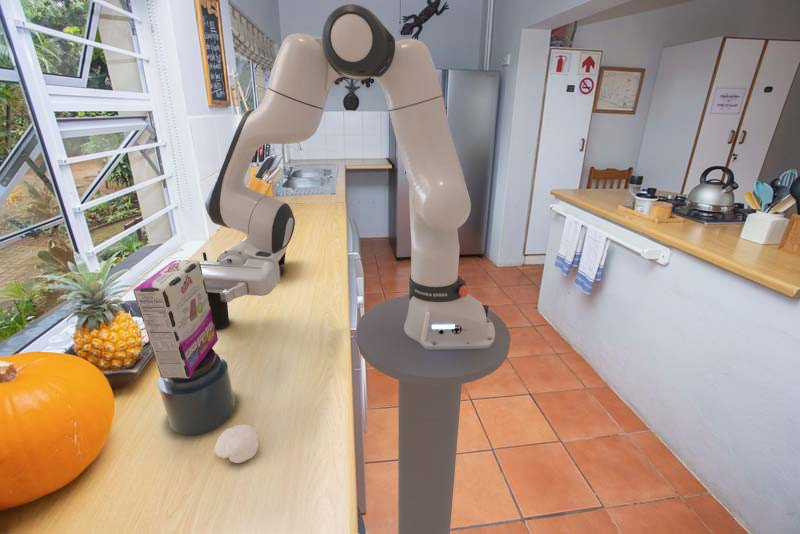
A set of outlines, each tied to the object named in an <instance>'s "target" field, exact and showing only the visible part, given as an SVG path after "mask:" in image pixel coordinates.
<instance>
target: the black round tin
mask: <svg viewBox="0 0 800 534" xmlns="http://www.w3.org/2000/svg"><path fill="white" fill-rule="evenodd" d="M286 251H287V250H286ZM286 251H285V253H284V254H283V256H282V257H281V259H280V260H279V261H278V264H279V270H280V277H281V276H282V275H283V272H284V270H283V266H285V265H286V254H287V253H286Z"/></svg>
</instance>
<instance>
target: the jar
mask: <svg viewBox="0 0 800 534" xmlns="http://www.w3.org/2000/svg"><path fill="white" fill-rule="evenodd" d="M157 386H158V387H157V388H158V390H159V394H160V397H161V400H162V403H163V406H164V410H165V413H166V415H167V416H166V417H167V419H168V420H167V421H168V423H169V427H170V429H171V430H172V431H173V432H174V433H175V434H177V435H180V436H187V437H192V436H199V435H203V434H207V433H209V432H211V431H213V430H214V431H215V430H216V429H217V428H219V427H220V426H222V425H224V423H226V422H227V421H228V420H229V419H230V418H231V416H232V415H233V414H234V412H235V410H236V399H235V393H234V390H233V385H232V381H231V375H230V371H229V366H228V362H227V361H226V359H225V358H223V357H221V356H220V354H218V353H216V351H215V349H214V348H212V349H211V350H210V351H209V353H208V354H207V356H206V357H205V358H204V360H203V361H202V362H201V364H200V365H199V366H198V368H197V369H196V370H195V372H194V373H193V374H192V376H191V377H190V378H171V379H167V378H161V375H159V378H158V380H157Z"/></svg>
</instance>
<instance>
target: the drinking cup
mask: <svg viewBox="0 0 800 534" xmlns="http://www.w3.org/2000/svg"><path fill="white" fill-rule="evenodd" d="M202 257H203V261H208V257H207V252H205V251H204V252H202ZM207 295H208V300H209V304H210V308H211V312H212V316H213V321H214V324H215V329H216V330H222V329H224V328H226V327H227V326H228V325H229V324H230V318H229V317H230V316H229V307H228V306H229V305H228V302H224V301H221V297H220V293H214V292H207Z"/></svg>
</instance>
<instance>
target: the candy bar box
mask: <svg viewBox="0 0 800 534" xmlns="http://www.w3.org/2000/svg"><path fill="white" fill-rule="evenodd" d="M200 261H201V260H177V259H176V260H172V261H170V262H169V263H168V264H167V265H165V266H164V267H162V268H161V269H160V270H158V271H156V272H155V273H154V274H153V275H151V276H150V277H148V278H147V279H146V280H145V281H143V282H142V283H140V284H139V285H137V286H136V287H134V289H132V292H133V294H134V297H135V300H136V303H137V306H138V309H139V314H140V315H141V319H142V322H143V325H144V328H145V331H146V335H147V337H148V341H149V344H150V346H151V349H152V353H153V357H154V360H155V362H156V365H157V368H158V372H159V374H160V375H159V376H161V378H167V379H171V378H190V377H191V376H192V374H193V373H194V372H195V370H196V369H197V368H198V366H199V365H200V364H201V362H202V361H203V360H204V358H205V357H206V356H207V354H208V353H209V351H210V350H211V349H213V348H214V347H215V345H216V344H217V342H218V341H219V337H218V334H217V329H215V324H214V321H213V316H212V312H211V308H210V304H209V300H208V295H207V291H206V287H205V283H204V278H203V274H202V270H201V265H200Z"/></svg>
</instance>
